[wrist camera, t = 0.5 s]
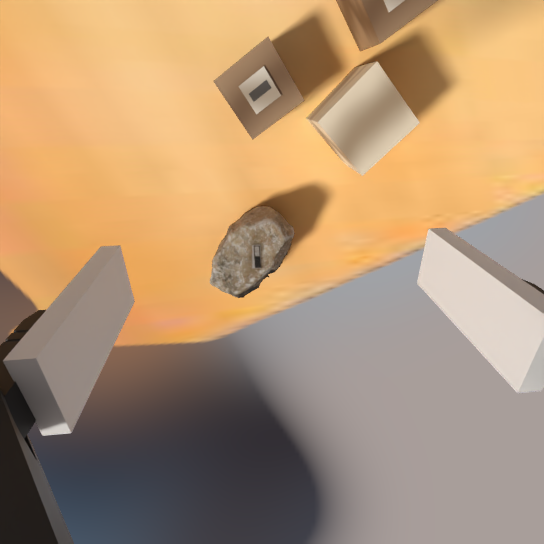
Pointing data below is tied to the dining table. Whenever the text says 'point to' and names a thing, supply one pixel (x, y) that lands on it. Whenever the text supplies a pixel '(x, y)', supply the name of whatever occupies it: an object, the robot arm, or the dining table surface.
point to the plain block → (363, 117)
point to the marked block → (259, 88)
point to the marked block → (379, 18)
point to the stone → (251, 251)
